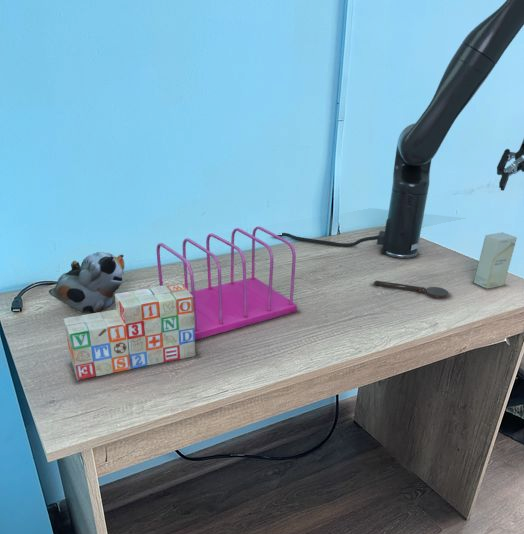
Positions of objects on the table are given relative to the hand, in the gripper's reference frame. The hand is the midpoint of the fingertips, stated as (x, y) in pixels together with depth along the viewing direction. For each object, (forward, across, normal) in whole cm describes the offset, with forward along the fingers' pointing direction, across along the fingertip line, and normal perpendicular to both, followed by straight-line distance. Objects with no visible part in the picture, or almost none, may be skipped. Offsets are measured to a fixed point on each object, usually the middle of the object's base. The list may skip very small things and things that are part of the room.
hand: (520, 191), depth 128 cm
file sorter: (+57, -44, -29) cm, 77 cm away
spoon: (+33, -15, -5) cm, 37 cm away
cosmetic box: (+23, 0, +6) cm, 24 cm away
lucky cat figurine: (+67, -70, -39) cm, 105 cm away
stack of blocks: (+76, -45, -47) cm, 100 cm away
